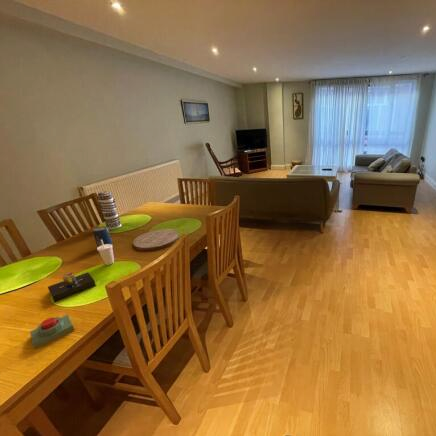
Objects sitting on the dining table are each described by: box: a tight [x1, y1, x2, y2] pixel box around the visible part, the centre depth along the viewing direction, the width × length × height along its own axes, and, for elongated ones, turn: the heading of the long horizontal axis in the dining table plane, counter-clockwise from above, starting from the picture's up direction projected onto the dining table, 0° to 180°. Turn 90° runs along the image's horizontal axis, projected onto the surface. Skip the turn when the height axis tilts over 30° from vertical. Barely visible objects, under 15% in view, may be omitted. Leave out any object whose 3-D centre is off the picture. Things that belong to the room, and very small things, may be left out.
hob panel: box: [47, 271, 97, 303], centre depth 105 cm, size 14×10×3 cm
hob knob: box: [61, 271, 77, 286], centre depth 104 cm, size 4×4×5 cm
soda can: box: [92, 226, 113, 248], centre depth 138 cm, size 7×7×12 cm
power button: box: [40, 317, 57, 329], centre depth 82 cm, size 4×4×2 cm
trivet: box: [132, 228, 180, 252], centre depth 148 cm, size 25×25×2 cm
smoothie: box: [96, 240, 115, 266], centre depth 122 cm, size 6×6×14 cm
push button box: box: [29, 314, 76, 350], centre depth 83 cm, size 10×8×4 cm
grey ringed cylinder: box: [96, 190, 122, 230], centre depth 163 cm, size 9×9×25 cm
